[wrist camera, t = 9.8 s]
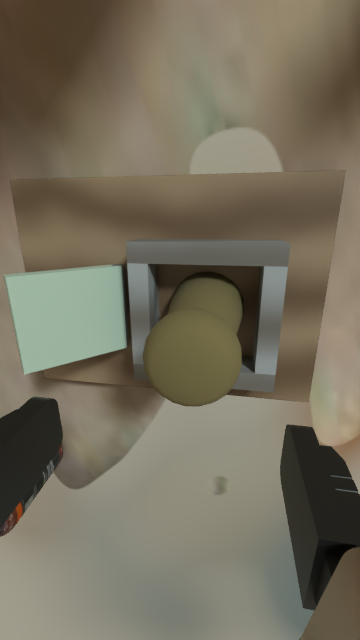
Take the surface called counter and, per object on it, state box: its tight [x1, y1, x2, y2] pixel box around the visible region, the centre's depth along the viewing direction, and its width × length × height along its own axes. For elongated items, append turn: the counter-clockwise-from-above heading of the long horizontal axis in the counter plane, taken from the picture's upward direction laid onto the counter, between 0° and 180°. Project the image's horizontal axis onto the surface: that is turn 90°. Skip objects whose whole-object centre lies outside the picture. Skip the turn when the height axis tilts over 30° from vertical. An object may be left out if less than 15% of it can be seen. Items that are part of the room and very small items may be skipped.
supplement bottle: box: [0, 445, 63, 536], centre depth 29 cm, size 6×6×11 cm
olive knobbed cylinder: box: [143, 271, 244, 406], centre depth 19 cm, size 6×6×11 cm
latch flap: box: [4, 264, 129, 374], centre depth 23 cm, size 7×8×1 cm
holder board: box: [10, 170, 346, 402], centre depth 24 cm, size 18×25×4 cm
